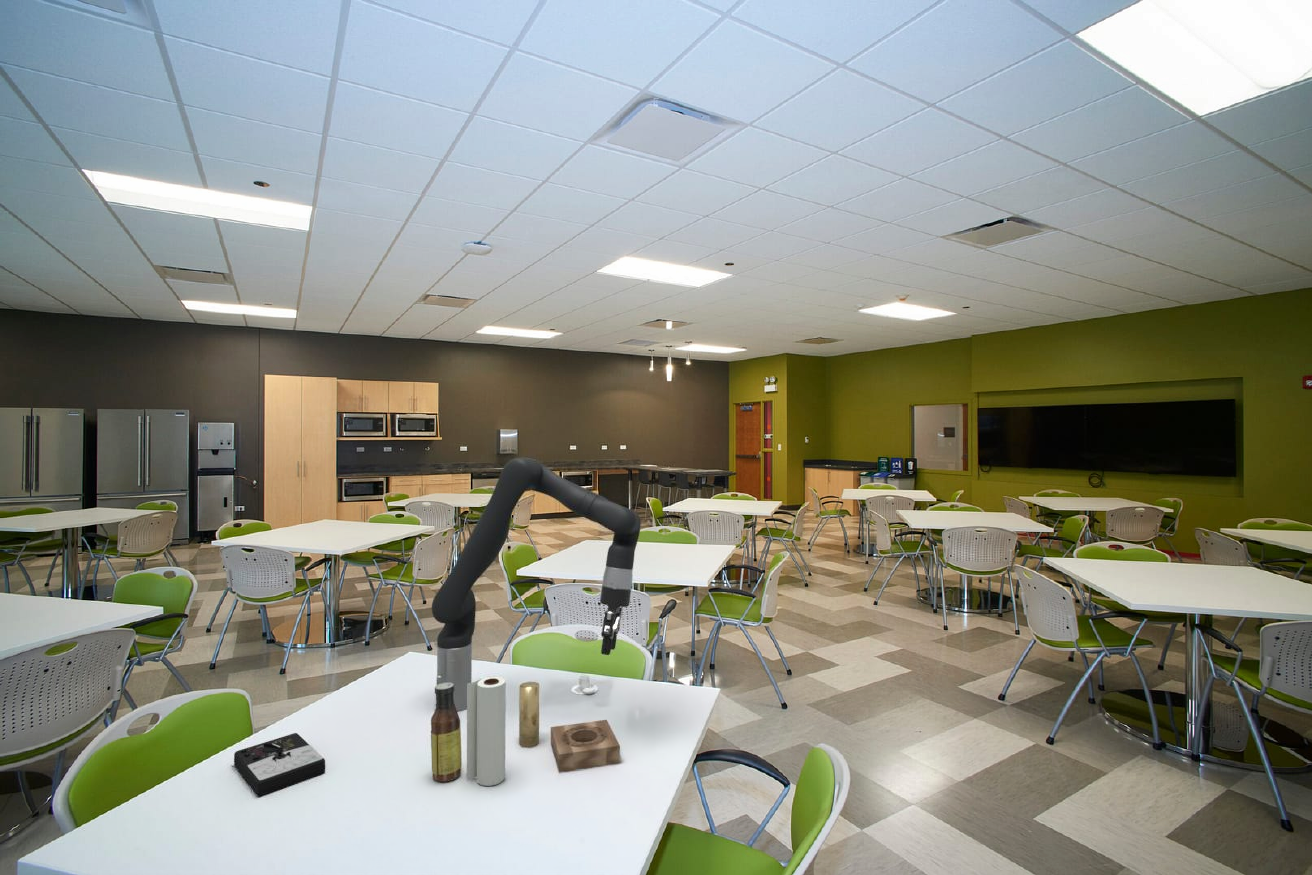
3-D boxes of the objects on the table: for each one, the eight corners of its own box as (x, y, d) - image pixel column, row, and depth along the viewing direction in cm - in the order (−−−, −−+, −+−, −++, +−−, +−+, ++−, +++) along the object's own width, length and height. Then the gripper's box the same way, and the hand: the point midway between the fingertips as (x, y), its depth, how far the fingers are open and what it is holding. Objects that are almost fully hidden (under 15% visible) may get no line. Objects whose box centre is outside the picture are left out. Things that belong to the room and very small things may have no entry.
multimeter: (297, 746, 150) (297, 725, 150) (326, 775, 137) (326, 752, 137) (233, 767, 140) (233, 745, 140) (258, 800, 127) (258, 775, 127)
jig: (558, 772, 137) (558, 754, 137) (550, 743, 150) (550, 726, 150) (619, 762, 141) (619, 745, 141) (606, 735, 154) (606, 719, 154)
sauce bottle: (467, 771, 137) (467, 682, 138) (449, 785, 132) (449, 692, 132) (443, 766, 140) (443, 678, 140) (424, 780, 134) (424, 688, 134)
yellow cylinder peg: (520, 748, 148) (520, 690, 148) (518, 739, 152) (518, 682, 153) (540, 745, 149) (540, 687, 149) (537, 736, 154) (538, 680, 154)
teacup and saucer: (596, 697, 179) (596, 683, 179) (568, 697, 179) (568, 683, 179) (599, 685, 188) (599, 672, 188) (573, 685, 188) (573, 671, 188)
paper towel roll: (511, 775, 136) (511, 678, 136) (492, 789, 130) (493, 688, 130) (485, 768, 139) (485, 673, 139) (466, 781, 133) (466, 682, 133)
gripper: (606, 582, 165) (598, 645, 162) (597, 585, 151) (588, 654, 148) (634, 586, 164) (626, 649, 161) (627, 589, 150) (618, 658, 147)
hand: (608, 651), depth 154 cm, fingers open, 8 cm apart
